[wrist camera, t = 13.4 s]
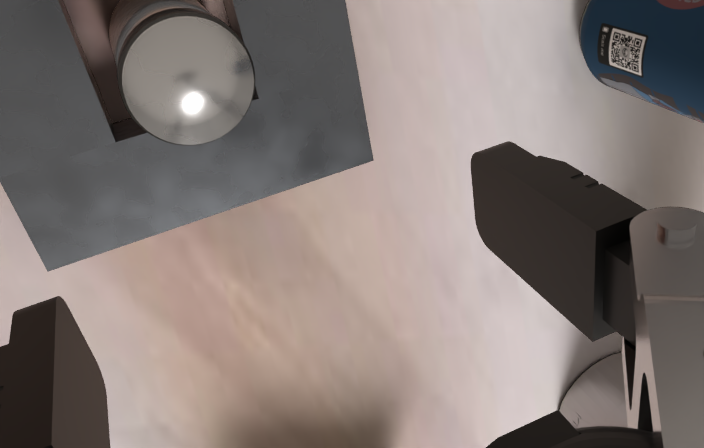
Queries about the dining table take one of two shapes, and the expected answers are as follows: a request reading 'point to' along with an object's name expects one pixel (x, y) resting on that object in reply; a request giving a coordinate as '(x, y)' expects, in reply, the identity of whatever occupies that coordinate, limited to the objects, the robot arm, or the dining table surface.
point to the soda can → (648, 50)
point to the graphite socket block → (159, 156)
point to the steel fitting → (180, 70)
